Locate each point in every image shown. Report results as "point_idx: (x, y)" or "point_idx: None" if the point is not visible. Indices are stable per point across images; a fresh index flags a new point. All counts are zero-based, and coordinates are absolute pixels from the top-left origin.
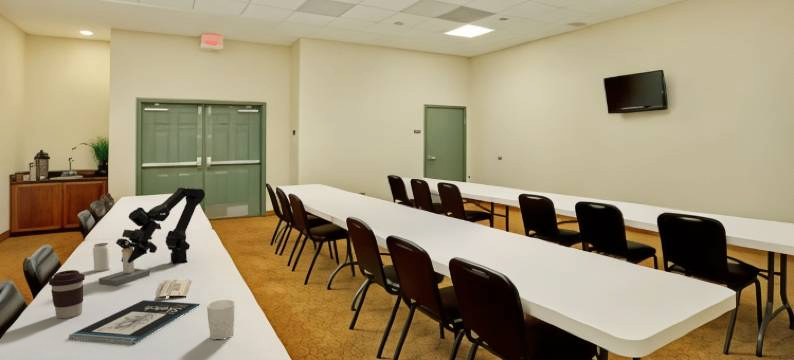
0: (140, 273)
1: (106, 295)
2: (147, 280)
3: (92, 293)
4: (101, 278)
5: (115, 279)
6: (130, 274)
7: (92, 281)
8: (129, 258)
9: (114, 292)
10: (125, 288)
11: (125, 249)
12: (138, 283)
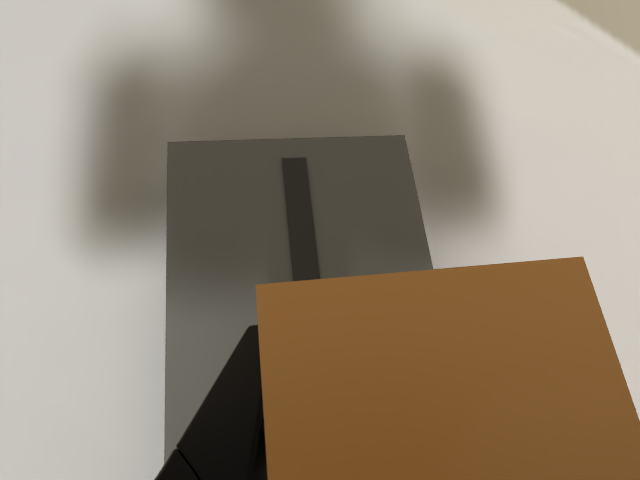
0: (165, 461)
1: (59, 20)
2: (31, 436)
3: (208, 20)
4: (380, 142)
5: (221, 168)
6: None
7: (508, 187)
8: (248, 361)
9: (57, 76)
10: (50, 167)
11: (477, 339)
12: (48, 314)
